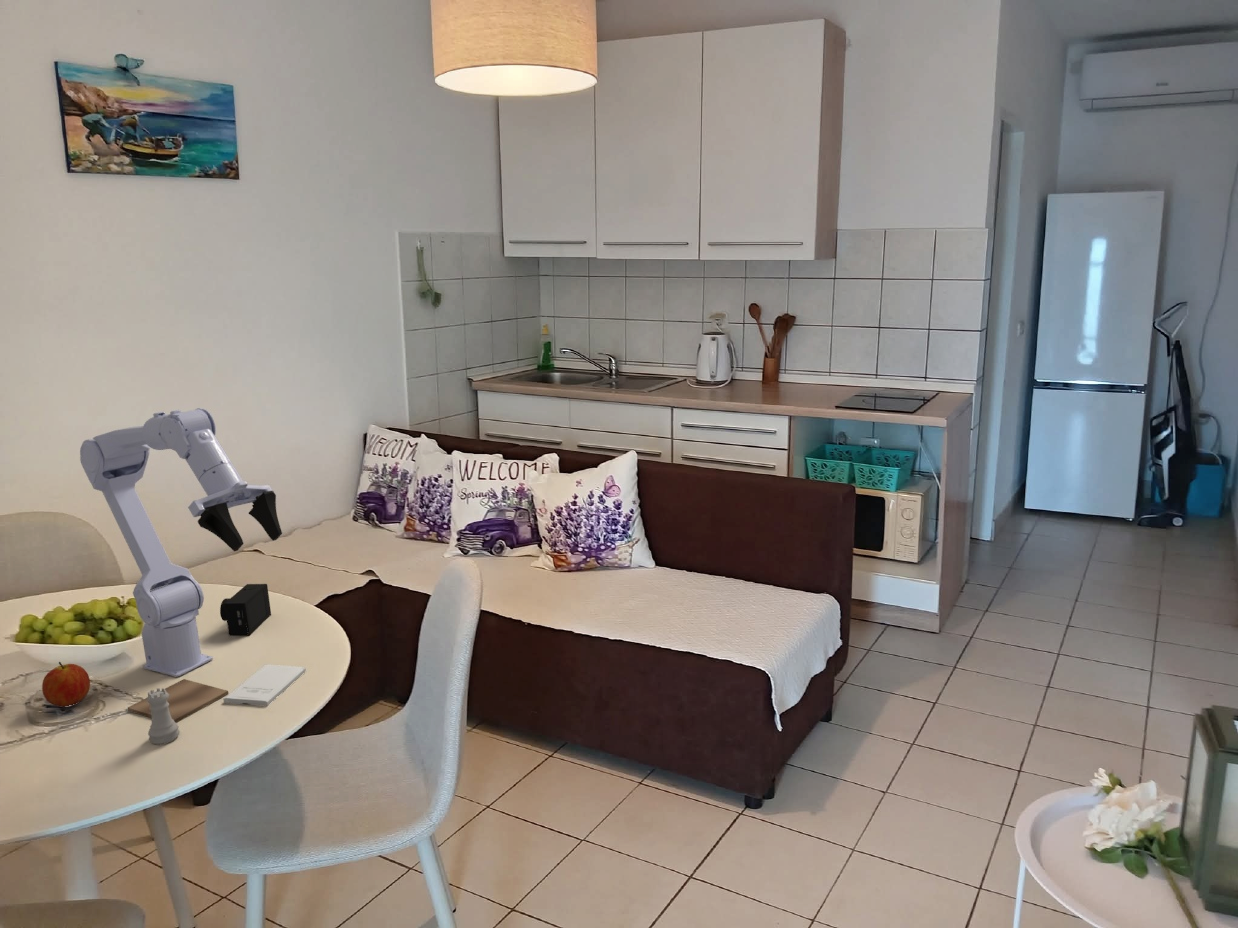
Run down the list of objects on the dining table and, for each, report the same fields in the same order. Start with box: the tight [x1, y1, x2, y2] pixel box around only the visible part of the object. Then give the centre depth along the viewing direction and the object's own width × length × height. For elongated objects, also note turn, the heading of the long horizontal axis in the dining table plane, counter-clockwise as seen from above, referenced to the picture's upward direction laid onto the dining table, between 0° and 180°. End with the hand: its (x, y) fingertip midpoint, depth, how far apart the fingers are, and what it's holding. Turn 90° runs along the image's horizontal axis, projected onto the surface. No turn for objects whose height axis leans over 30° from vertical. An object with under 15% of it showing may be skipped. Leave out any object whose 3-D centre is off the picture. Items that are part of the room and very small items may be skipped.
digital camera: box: [219, 583, 272, 637], centre depth 188 cm, size 10×5×7 cm, turn 177°
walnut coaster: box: [127, 678, 229, 724], centre depth 158 cm, size 11×11×1 cm
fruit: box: [41, 661, 91, 708], centre depth 158 cm, size 7×7×8 cm
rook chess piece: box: [146, 687, 181, 746], centre depth 146 cm, size 4×4×8 cm
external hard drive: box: [223, 664, 307, 707], centre depth 163 cm, size 2×8×12 cm
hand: (258, 542), depth 150 cm, fingers open, 7 cm apart
